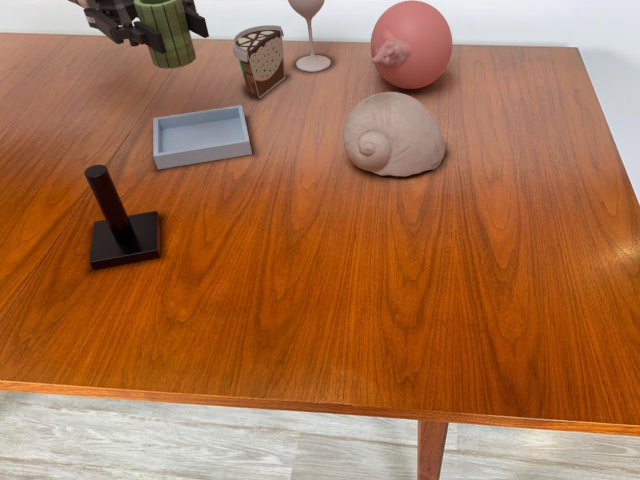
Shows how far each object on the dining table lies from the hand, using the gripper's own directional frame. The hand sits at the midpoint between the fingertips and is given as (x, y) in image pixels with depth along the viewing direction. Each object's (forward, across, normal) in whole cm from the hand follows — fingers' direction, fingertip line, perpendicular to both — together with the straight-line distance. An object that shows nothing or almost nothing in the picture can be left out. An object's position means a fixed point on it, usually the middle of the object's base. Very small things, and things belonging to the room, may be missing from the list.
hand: (183, 35), depth 83 cm
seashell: (+22, -21, -21) cm, 37 cm away
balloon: (+6, -39, -21) cm, 45 cm away
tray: (-6, -1, -21) cm, 22 cm away
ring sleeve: (-5, 0, -5) cm, 7 cm away
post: (+9, +21, -21) cm, 31 cm away
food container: (-16, -21, -21) cm, 33 cm away
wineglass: (-15, -34, -21) cm, 43 cm away
